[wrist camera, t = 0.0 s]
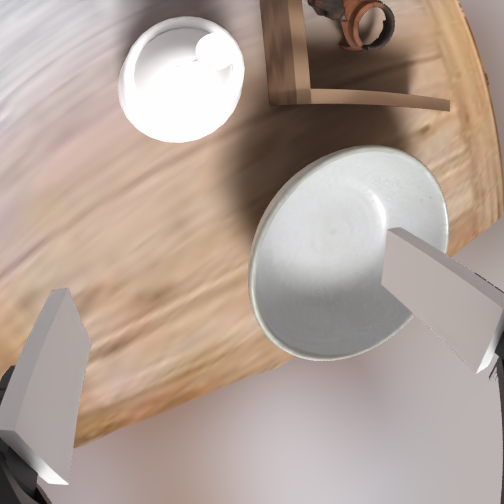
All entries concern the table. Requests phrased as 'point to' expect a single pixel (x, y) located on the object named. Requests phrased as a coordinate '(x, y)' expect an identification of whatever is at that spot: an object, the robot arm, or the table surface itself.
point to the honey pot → (181, 79)
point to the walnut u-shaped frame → (297, 68)
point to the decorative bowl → (340, 250)
